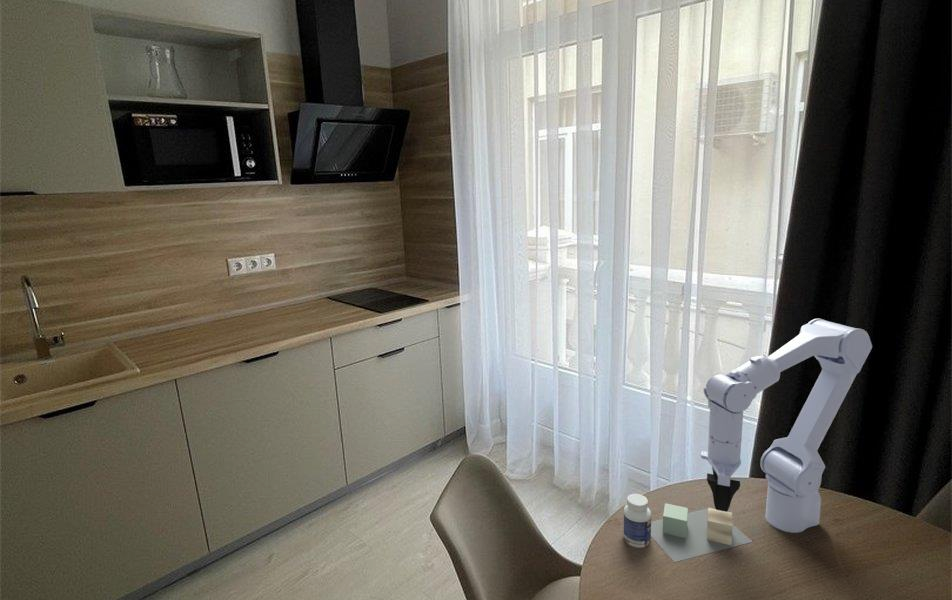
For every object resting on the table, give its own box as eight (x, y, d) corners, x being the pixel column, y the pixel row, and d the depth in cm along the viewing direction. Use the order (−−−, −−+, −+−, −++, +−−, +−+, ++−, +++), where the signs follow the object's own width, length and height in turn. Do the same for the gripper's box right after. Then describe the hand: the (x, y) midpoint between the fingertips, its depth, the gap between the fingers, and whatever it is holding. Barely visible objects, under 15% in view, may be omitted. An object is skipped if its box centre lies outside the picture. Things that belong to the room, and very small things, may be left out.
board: (711, 510, 108) (712, 507, 108) (752, 545, 97) (752, 541, 97) (640, 527, 104) (640, 524, 104) (674, 565, 93) (674, 562, 93)
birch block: (707, 526, 102) (708, 507, 101) (730, 531, 100) (732, 512, 99) (706, 539, 98) (707, 520, 97) (731, 545, 96) (732, 525, 95)
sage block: (664, 519, 105) (665, 503, 104) (687, 524, 103) (687, 508, 102) (662, 532, 101) (663, 515, 100) (686, 538, 99) (686, 521, 98)
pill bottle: (652, 552, 97) (653, 508, 95) (624, 549, 98) (624, 506, 96) (648, 533, 102) (649, 492, 100) (622, 531, 103) (622, 490, 101)
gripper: (702, 417, 102) (700, 475, 105) (701, 450, 90) (698, 515, 93) (740, 422, 99) (736, 482, 102) (744, 457, 87) (740, 524, 90)
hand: (721, 498), depth 97 cm, fingers open, 7 cm apart
